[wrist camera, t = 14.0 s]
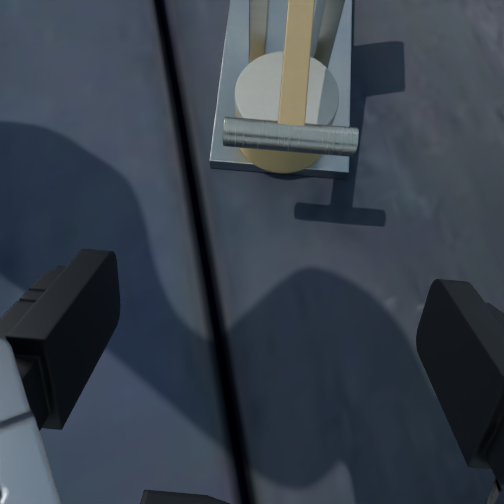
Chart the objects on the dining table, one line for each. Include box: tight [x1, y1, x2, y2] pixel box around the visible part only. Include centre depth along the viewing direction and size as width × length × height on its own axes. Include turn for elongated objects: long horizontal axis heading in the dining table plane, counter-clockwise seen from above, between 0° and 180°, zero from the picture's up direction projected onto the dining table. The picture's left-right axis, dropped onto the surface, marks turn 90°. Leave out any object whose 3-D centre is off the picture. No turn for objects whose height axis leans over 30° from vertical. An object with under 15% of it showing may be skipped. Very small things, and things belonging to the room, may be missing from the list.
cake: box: [235, 51, 339, 173], centre depth 27 cm, size 6×6×4 cm
